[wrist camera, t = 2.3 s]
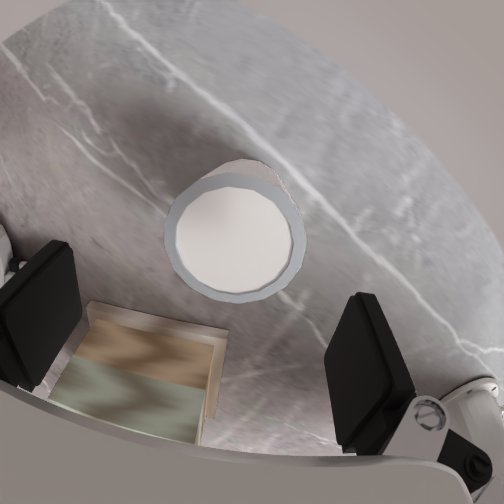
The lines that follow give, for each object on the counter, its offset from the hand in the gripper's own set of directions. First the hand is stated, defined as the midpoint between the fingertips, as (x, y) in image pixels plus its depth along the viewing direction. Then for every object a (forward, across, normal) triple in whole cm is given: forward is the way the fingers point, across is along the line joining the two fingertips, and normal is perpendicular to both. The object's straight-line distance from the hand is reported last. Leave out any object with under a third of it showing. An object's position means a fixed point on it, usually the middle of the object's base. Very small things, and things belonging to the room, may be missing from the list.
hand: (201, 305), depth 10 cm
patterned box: (+12, +5, +18) cm, 23 cm away
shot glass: (+12, -1, 0) cm, 12 cm away
